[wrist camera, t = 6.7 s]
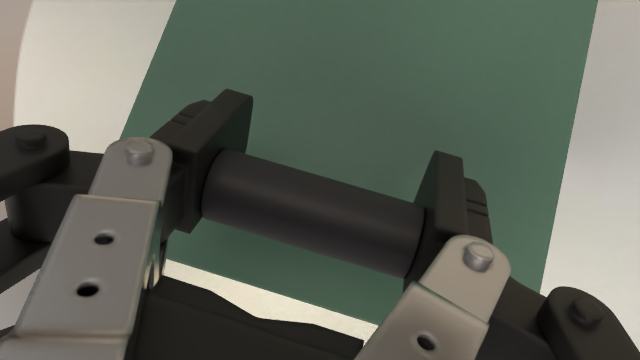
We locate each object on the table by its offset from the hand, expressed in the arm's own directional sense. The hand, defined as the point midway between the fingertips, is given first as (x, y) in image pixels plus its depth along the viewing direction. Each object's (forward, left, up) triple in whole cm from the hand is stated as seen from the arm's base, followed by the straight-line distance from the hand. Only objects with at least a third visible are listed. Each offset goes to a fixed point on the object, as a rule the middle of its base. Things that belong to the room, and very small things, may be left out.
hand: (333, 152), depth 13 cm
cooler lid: (0, +2, -6) cm, 6 cm away
